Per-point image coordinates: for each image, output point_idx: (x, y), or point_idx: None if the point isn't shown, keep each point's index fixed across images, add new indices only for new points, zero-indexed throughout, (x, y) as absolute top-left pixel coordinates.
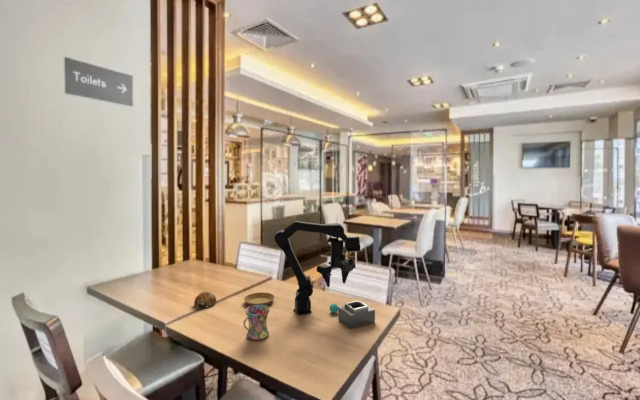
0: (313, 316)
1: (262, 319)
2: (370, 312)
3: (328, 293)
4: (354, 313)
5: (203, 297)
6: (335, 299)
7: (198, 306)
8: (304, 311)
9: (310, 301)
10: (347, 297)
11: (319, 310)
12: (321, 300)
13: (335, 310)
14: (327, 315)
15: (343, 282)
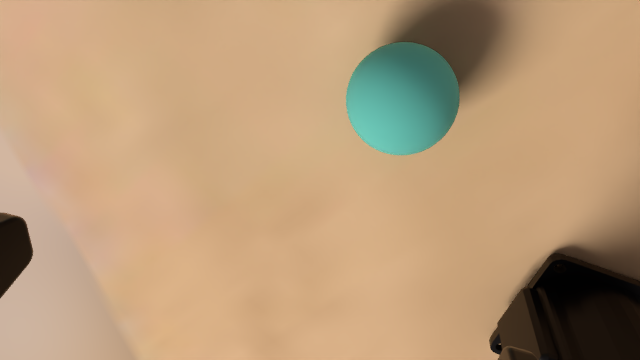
0: (633, 185)
1: None
2: None
3: (148, 344)
4: None
5: None
6: (175, 251)
7: None
8: (634, 299)
9: (551, 352)
10: (66, 201)
11: (459, 223)
12: (278, 319)
13: (431, 49)
14: (516, 88)
15: (14, 251)
